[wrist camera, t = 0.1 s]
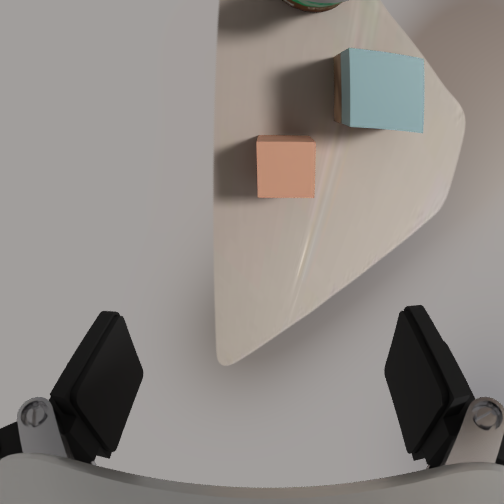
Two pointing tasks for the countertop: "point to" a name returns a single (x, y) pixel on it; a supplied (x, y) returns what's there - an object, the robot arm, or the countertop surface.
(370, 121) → the tower top block
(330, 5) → the food container
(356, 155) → the countertop surface
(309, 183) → the terracotta cube
